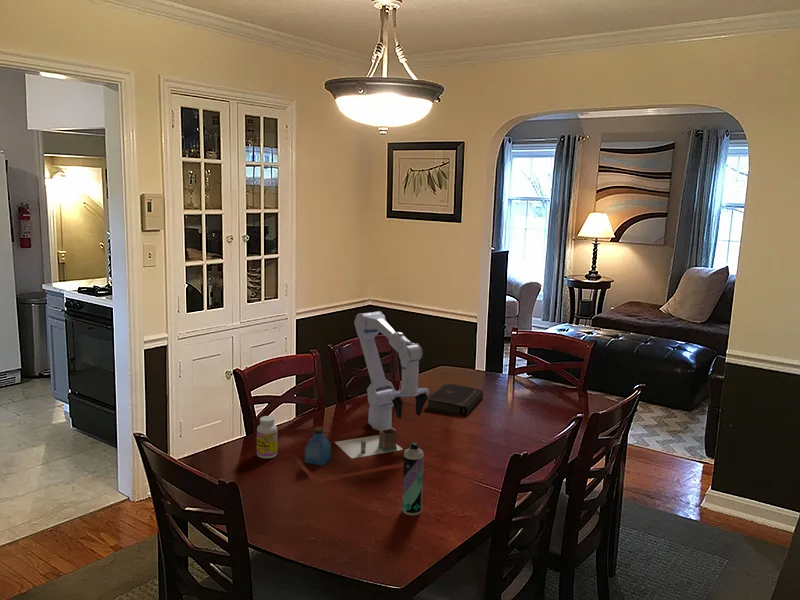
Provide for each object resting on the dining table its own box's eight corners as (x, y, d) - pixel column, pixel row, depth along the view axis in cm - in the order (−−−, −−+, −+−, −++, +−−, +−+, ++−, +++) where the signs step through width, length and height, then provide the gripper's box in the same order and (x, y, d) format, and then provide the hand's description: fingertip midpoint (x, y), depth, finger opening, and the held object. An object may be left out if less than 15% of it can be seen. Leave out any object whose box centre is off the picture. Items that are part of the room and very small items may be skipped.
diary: (483, 399, 290) (484, 388, 289) (467, 418, 267) (468, 406, 266) (441, 392, 297) (442, 381, 296) (422, 410, 274) (423, 398, 273)
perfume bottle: (330, 461, 221) (331, 426, 219) (322, 469, 215) (322, 433, 213) (313, 458, 223) (313, 424, 221) (304, 466, 217) (305, 430, 215)
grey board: (334, 445, 234) (334, 442, 234) (383, 437, 243) (383, 434, 243) (351, 461, 221) (351, 458, 221) (403, 452, 230) (403, 449, 229)
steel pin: (360, 451, 226) (360, 440, 226) (364, 451, 227) (364, 439, 226) (361, 453, 225) (362, 442, 224) (366, 452, 226) (366, 441, 225)
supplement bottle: (252, 457, 222) (252, 419, 220) (264, 449, 229) (263, 413, 226) (270, 460, 220) (270, 423, 218) (281, 453, 226) (281, 416, 224)
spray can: (401, 506, 192) (403, 439, 189) (420, 506, 193) (422, 439, 189) (402, 515, 187) (405, 447, 183) (422, 515, 187) (425, 447, 184)
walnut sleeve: (378, 446, 231) (378, 430, 230) (390, 444, 233) (391, 428, 232) (384, 452, 227) (384, 435, 226) (396, 449, 229) (397, 433, 228)
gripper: (396, 384, 227) (395, 422, 230) (433, 379, 234) (432, 417, 236) (387, 378, 233) (386, 416, 236) (423, 374, 240) (422, 410, 242)
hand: (408, 416), depth 237 cm, fingers open, 7 cm apart
